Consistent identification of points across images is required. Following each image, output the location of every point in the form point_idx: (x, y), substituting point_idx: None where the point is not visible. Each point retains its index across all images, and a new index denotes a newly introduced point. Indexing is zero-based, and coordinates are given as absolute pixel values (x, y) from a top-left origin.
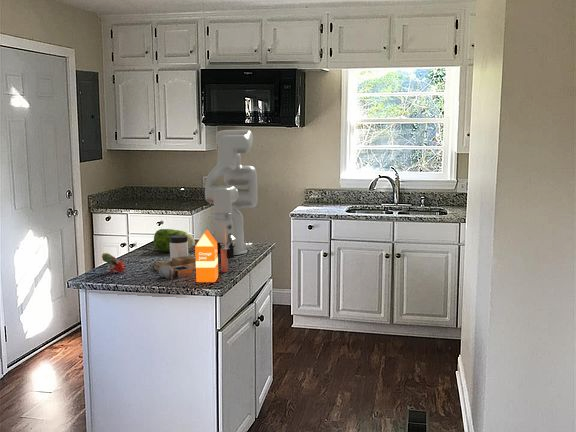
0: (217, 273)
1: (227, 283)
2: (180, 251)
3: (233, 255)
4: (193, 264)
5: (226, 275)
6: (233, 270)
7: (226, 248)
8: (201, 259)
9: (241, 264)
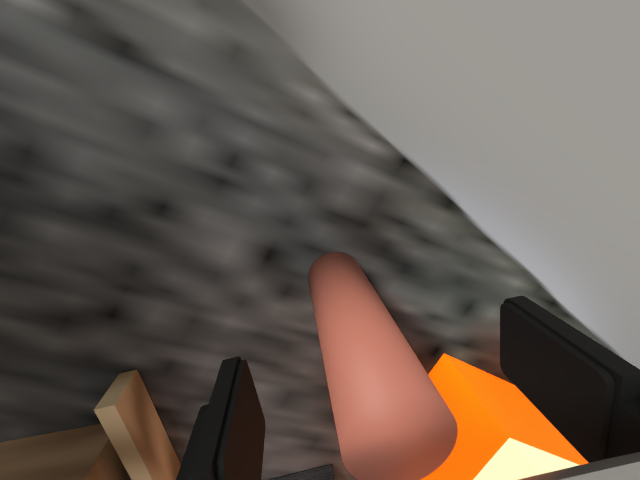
0: (480, 382)
1: (609, 348)
2: None
3: (539, 310)
4: (155, 475)
5: (448, 301)
6: (340, 208)
7: (420, 414)
8: None
9: (135, 37)
